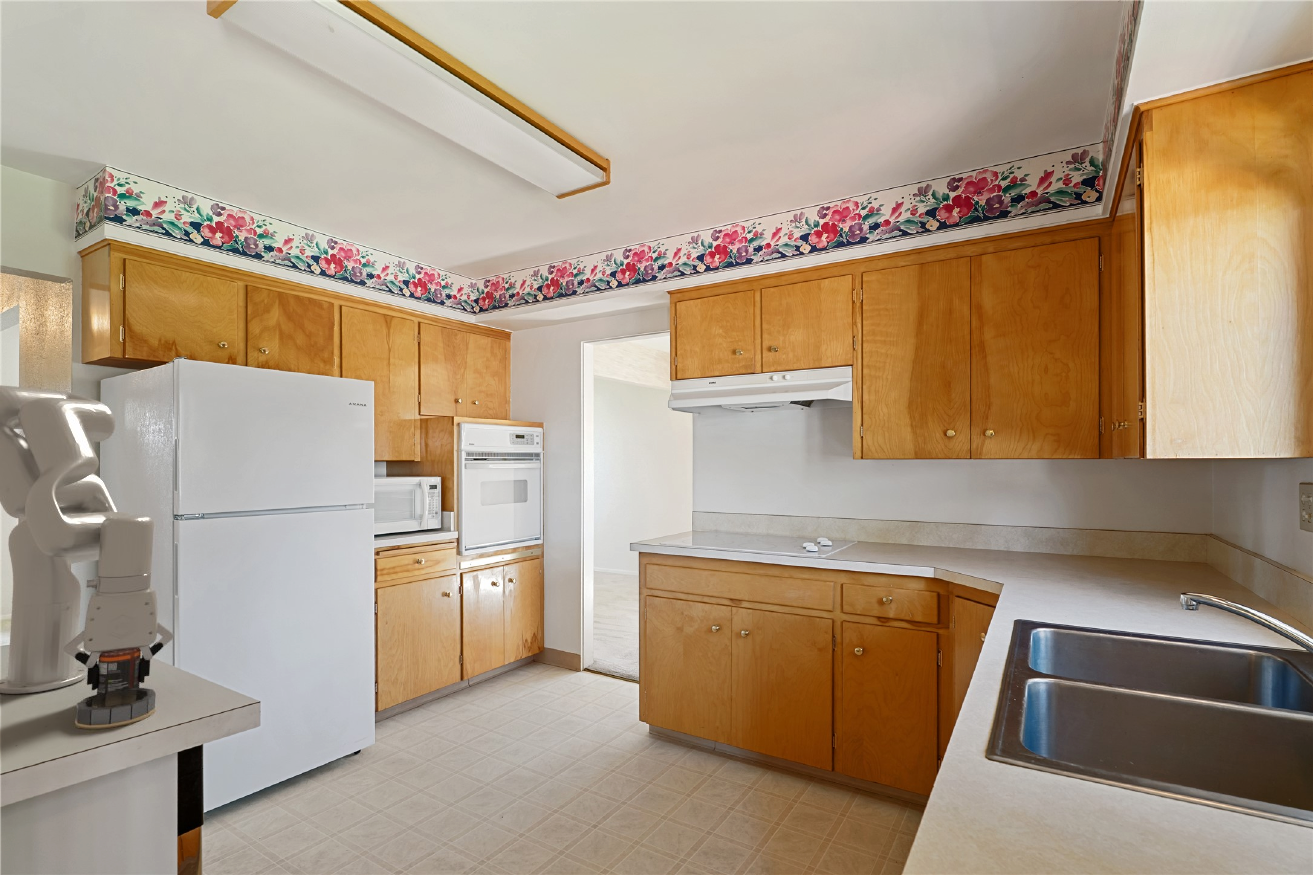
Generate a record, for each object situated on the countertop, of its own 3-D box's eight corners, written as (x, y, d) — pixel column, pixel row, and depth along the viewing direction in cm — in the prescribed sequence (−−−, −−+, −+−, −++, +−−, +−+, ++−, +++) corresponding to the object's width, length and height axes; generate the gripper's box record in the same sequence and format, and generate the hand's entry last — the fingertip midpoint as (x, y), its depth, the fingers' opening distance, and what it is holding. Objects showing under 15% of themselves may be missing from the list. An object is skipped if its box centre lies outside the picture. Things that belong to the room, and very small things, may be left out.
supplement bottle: (134, 689, 121) (137, 628, 122) (142, 697, 118) (146, 634, 118) (92, 697, 117) (96, 634, 117) (100, 706, 113) (104, 641, 113)
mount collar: (96, 707, 113) (97, 689, 113) (166, 702, 116) (167, 685, 116) (59, 731, 103) (60, 712, 103) (137, 726, 106) (138, 707, 106)
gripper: (58, 592, 110) (51, 700, 109) (184, 582, 120) (178, 681, 120) (62, 585, 115) (55, 687, 115) (181, 576, 126) (176, 670, 126)
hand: (118, 683), depth 117 cm, fingers closed on supplement bottle, 6 cm apart
